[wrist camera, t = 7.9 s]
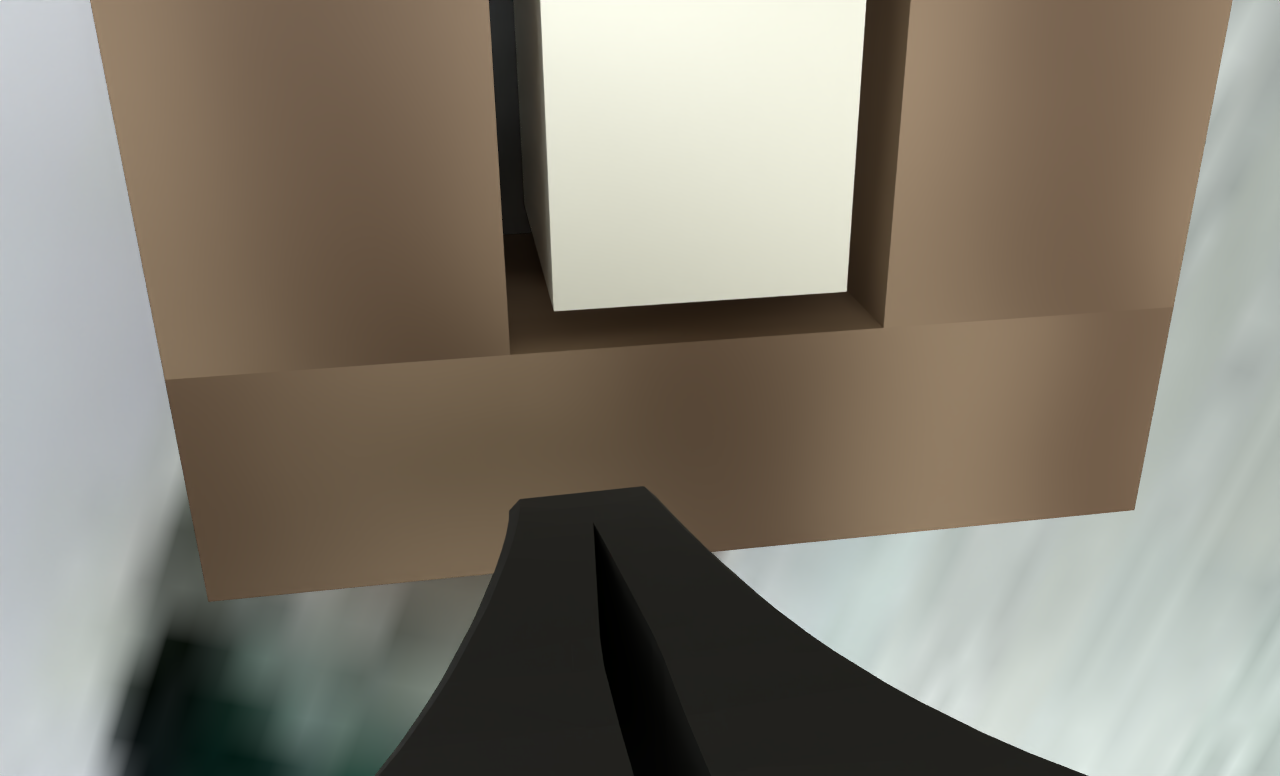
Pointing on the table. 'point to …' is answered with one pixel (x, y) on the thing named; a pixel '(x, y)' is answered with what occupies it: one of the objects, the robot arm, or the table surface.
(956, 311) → the walnut block
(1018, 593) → the table surface
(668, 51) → the cream peg
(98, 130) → the table surface
